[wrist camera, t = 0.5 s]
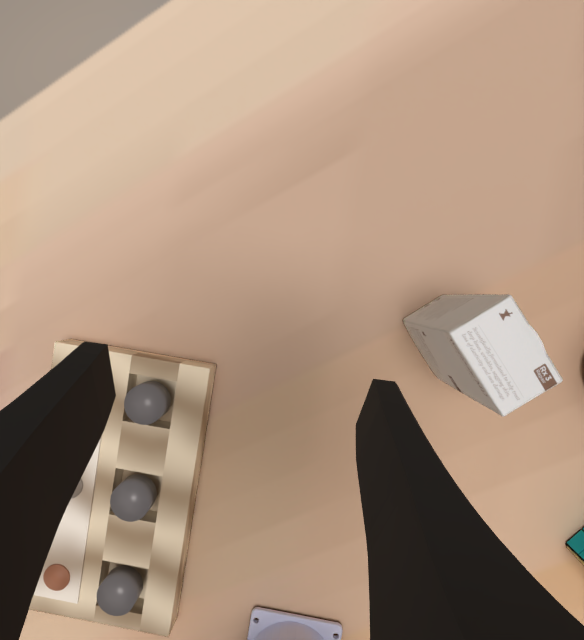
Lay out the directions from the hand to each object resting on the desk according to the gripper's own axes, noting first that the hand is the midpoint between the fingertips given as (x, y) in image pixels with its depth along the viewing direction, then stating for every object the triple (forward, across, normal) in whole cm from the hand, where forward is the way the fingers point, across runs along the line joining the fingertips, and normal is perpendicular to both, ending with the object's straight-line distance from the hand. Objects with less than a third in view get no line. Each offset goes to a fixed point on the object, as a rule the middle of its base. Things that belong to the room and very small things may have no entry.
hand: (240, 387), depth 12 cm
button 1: (+15, +8, +20) cm, 27 cm away
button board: (+13, +10, +28) cm, 32 cm away
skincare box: (+20, -15, +13) cm, 29 cm away
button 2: (+6, +8, +33) cm, 35 cm away
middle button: (+11, +8, +27) cm, 30 cm away
